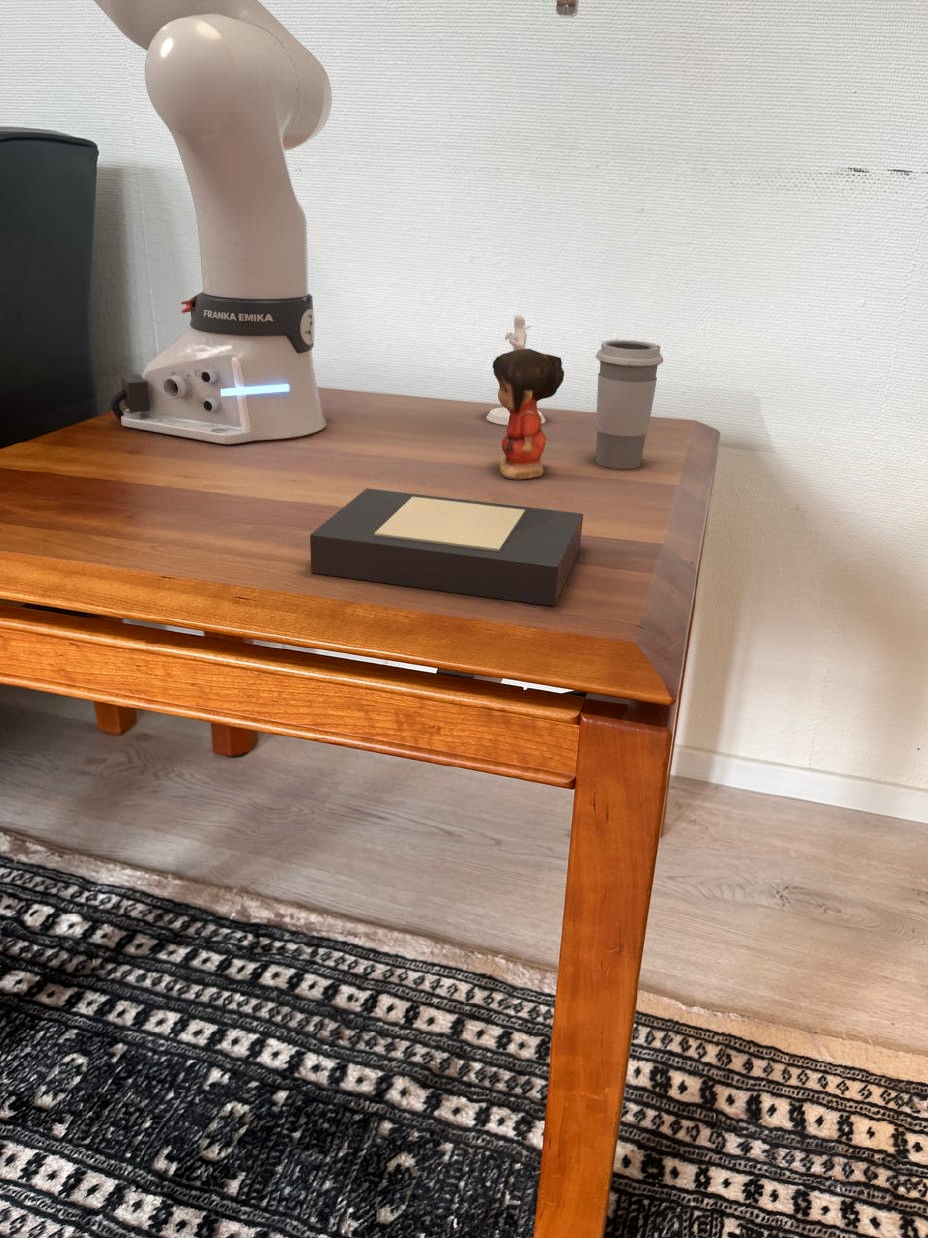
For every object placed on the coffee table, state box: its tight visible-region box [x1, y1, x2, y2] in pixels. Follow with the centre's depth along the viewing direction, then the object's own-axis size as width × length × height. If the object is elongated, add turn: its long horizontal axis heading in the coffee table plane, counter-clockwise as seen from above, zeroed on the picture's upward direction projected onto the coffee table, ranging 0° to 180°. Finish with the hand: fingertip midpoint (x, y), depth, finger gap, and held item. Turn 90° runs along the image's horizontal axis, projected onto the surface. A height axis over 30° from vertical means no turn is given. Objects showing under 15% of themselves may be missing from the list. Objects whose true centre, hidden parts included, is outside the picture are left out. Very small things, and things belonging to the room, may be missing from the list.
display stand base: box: [309, 488, 584, 607], centre depth 74 cm, size 18×12×3 cm, turn 75°
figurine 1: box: [485, 314, 546, 426], centre depth 116 cm, size 7×7×12 cm
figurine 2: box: [492, 348, 565, 481], centre depth 96 cm, size 6×6×12 cm
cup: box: [595, 339, 664, 470], centre depth 100 cm, size 7×7×12 cm
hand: (557, 8), depth 86 cm, fingers open, 8 cm apart
